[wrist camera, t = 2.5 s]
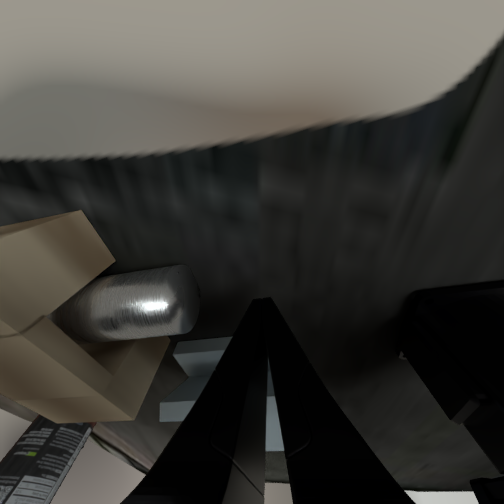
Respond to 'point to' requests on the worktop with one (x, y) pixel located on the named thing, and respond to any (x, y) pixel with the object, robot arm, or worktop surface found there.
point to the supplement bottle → (41, 461)
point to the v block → (199, 371)
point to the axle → (131, 306)
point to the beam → (54, 339)
